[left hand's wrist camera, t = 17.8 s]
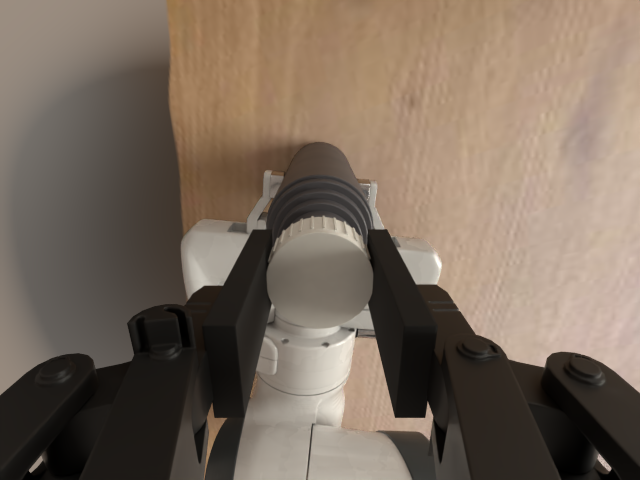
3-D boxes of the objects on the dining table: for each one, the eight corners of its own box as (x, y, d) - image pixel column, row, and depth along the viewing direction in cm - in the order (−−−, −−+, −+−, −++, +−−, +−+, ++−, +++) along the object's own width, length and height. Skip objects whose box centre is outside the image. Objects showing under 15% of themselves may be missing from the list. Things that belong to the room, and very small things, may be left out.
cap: (388, 268, 14) (398, 290, 13) (313, 320, 15) (312, 348, 14) (327, 194, 13) (328, 207, 12) (250, 255, 14) (240, 276, 13)
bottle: (296, 206, 34) (263, 347, 14) (284, 147, 32) (228, 217, 12) (353, 197, 33) (400, 328, 14) (345, 137, 32) (387, 192, 12)
